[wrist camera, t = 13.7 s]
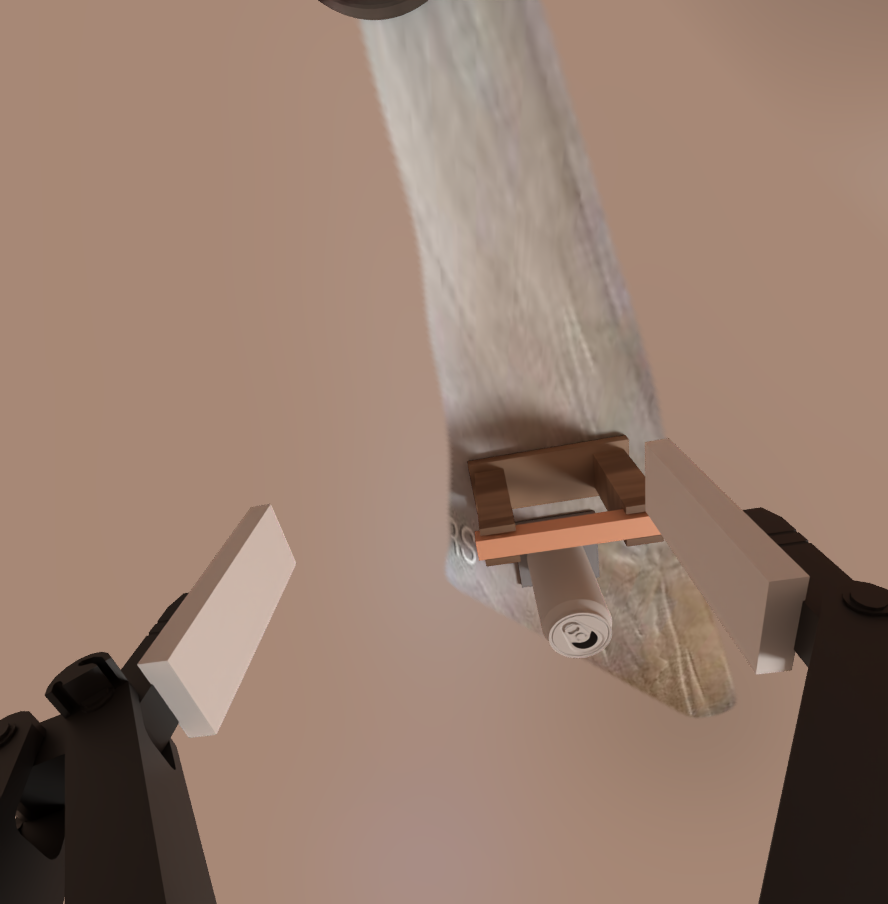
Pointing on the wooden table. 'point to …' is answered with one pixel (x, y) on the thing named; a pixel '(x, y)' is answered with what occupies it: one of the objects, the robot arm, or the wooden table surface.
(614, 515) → the crossbar
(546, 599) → the beverage can
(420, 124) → the wooden table surface
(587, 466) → the walnut stand
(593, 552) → the rubber mat
